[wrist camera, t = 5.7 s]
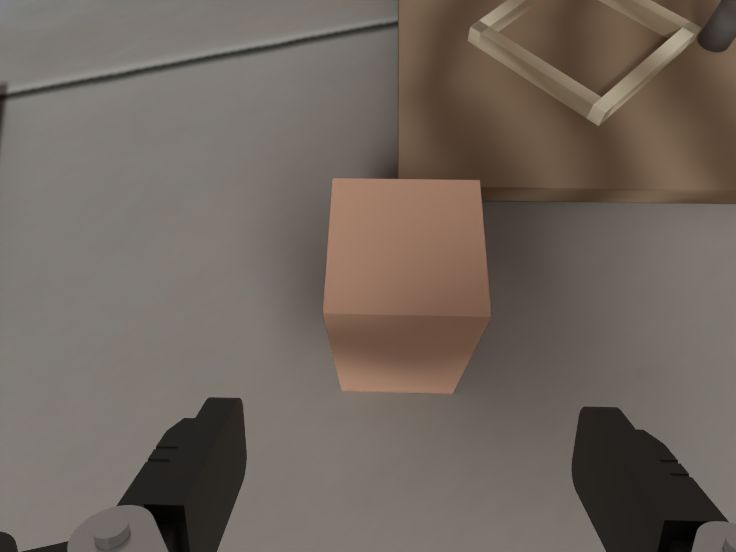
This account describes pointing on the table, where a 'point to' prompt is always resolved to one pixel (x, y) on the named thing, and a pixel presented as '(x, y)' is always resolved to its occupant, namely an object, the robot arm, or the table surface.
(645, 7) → the locating board
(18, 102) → the table surface
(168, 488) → the robot arm
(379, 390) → the key block
